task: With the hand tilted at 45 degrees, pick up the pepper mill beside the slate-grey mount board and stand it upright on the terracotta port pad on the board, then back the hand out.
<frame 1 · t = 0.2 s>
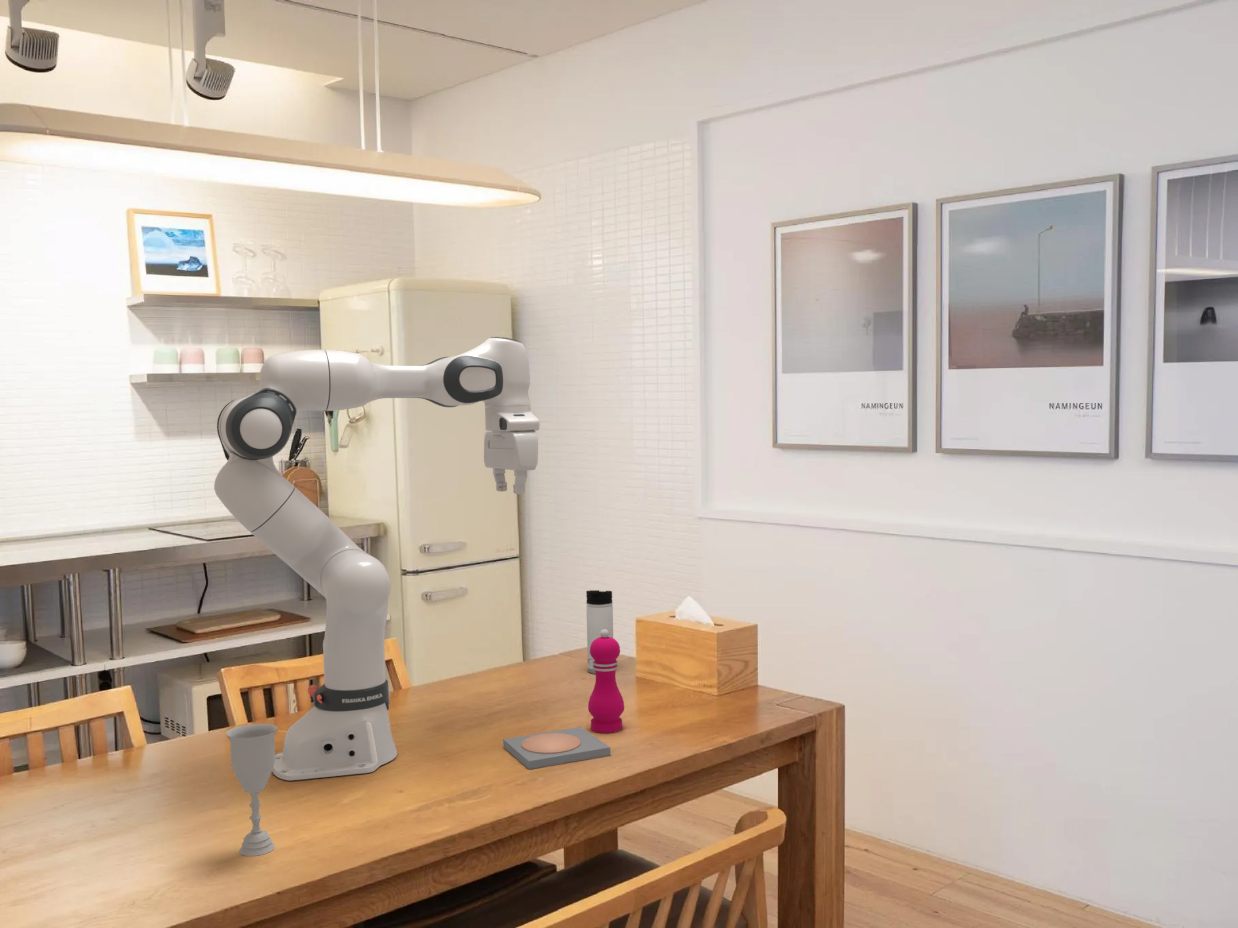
hand: (510, 492, 214), 48 cm above the table, tool pointing down, fingers open, 8 cm apart
chalice: (257, 849, 164), on the table
travel mug: (600, 672, 263), on the table
mount board: (556, 750, 206), on the table
pepper mill: (606, 729, 219), on the table
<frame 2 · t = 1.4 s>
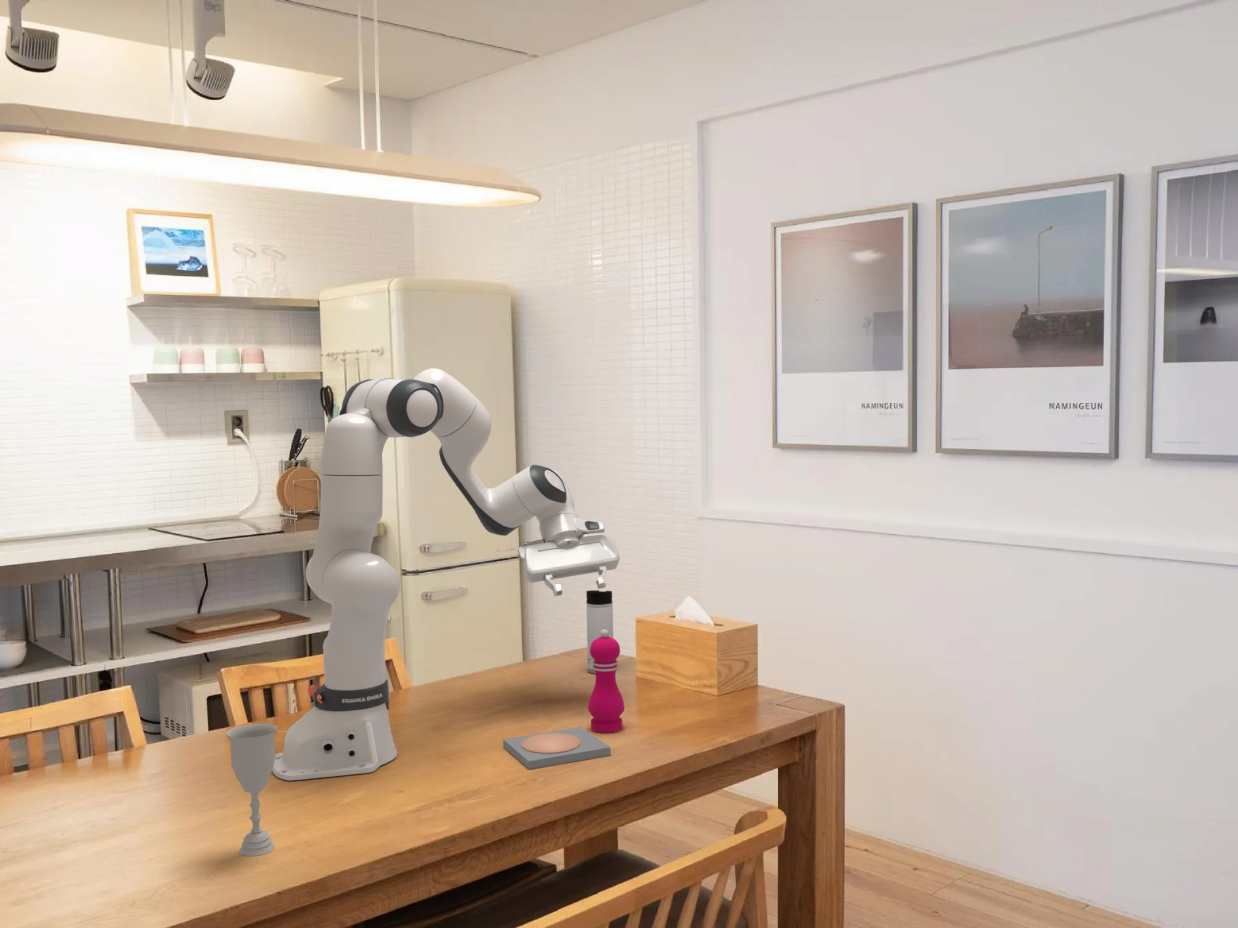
hand: (580, 590, 227), 26 cm above the table, tool tilted 45°, fingers open, 8 cm apart
nothing on the table moved.
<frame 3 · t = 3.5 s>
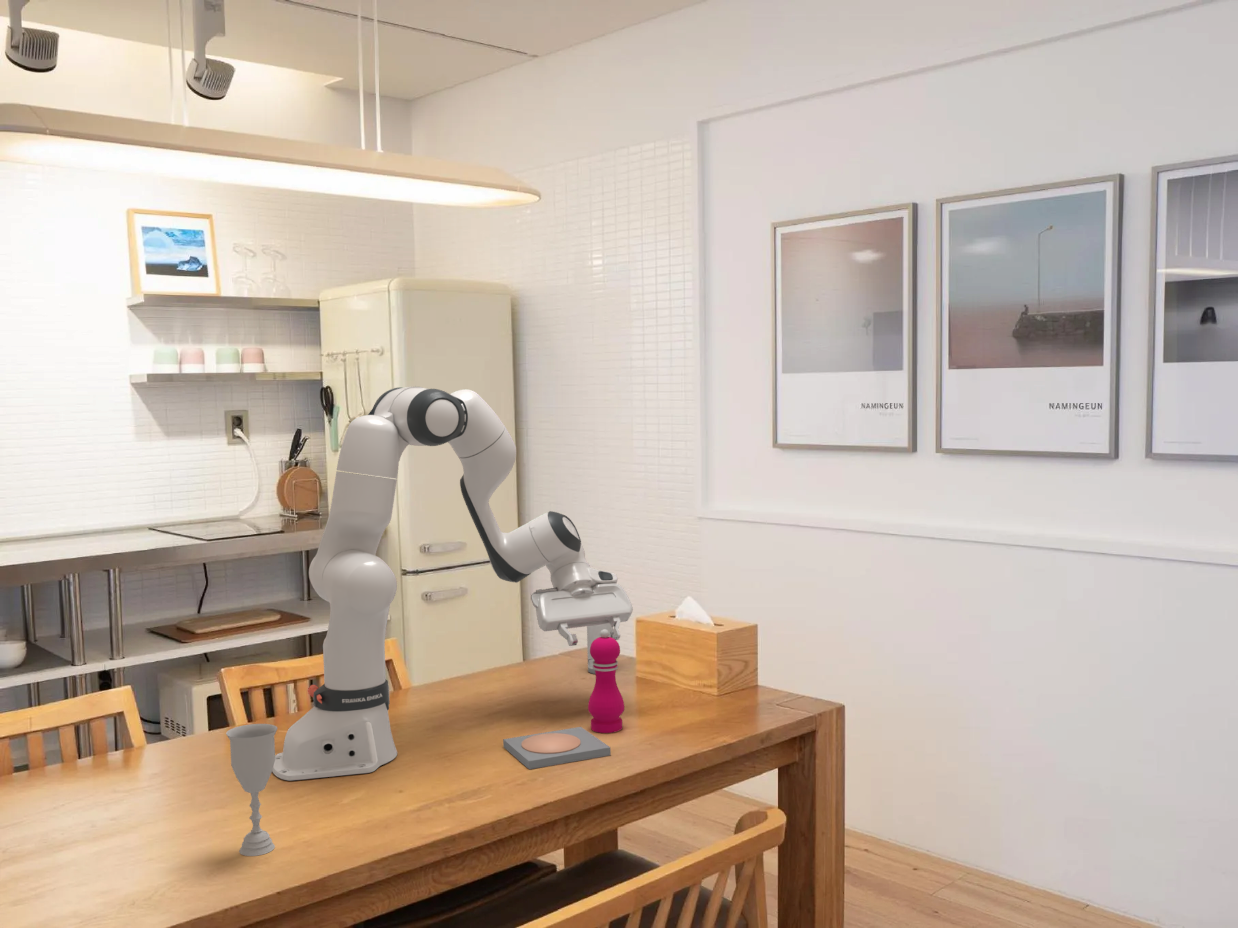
hand: (595, 641, 222), 17 cm above the table, tool tilted 45°, fingers open, 8 cm apart
nothing on the table moved.
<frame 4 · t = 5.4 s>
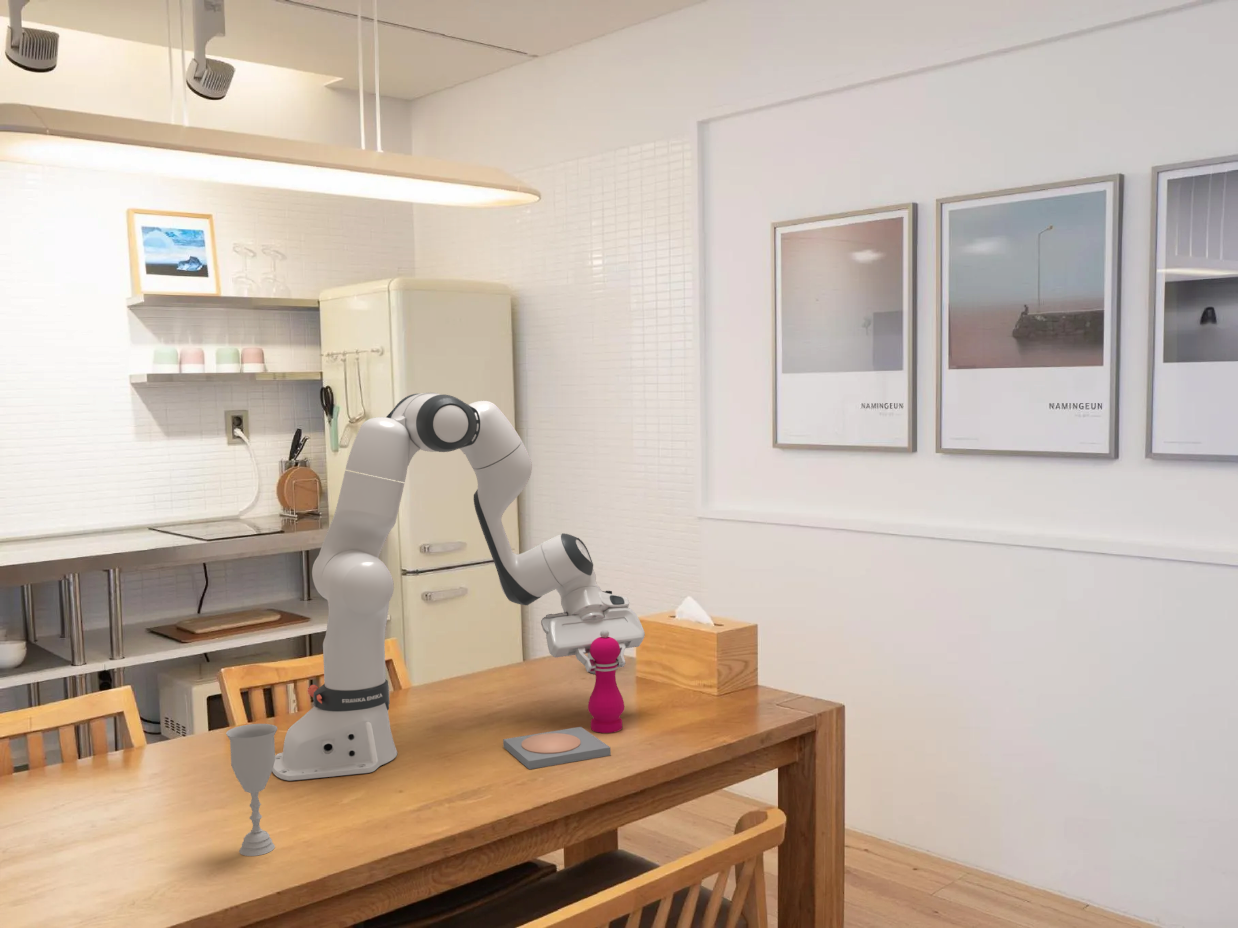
hand: (606, 667, 217), 12 cm above the table, tool tilted 45°, fingers closed on pepper mill, 5 cm apart
pepper mill: (606, 729, 219), on the table, touching gripper
everything else where it was.
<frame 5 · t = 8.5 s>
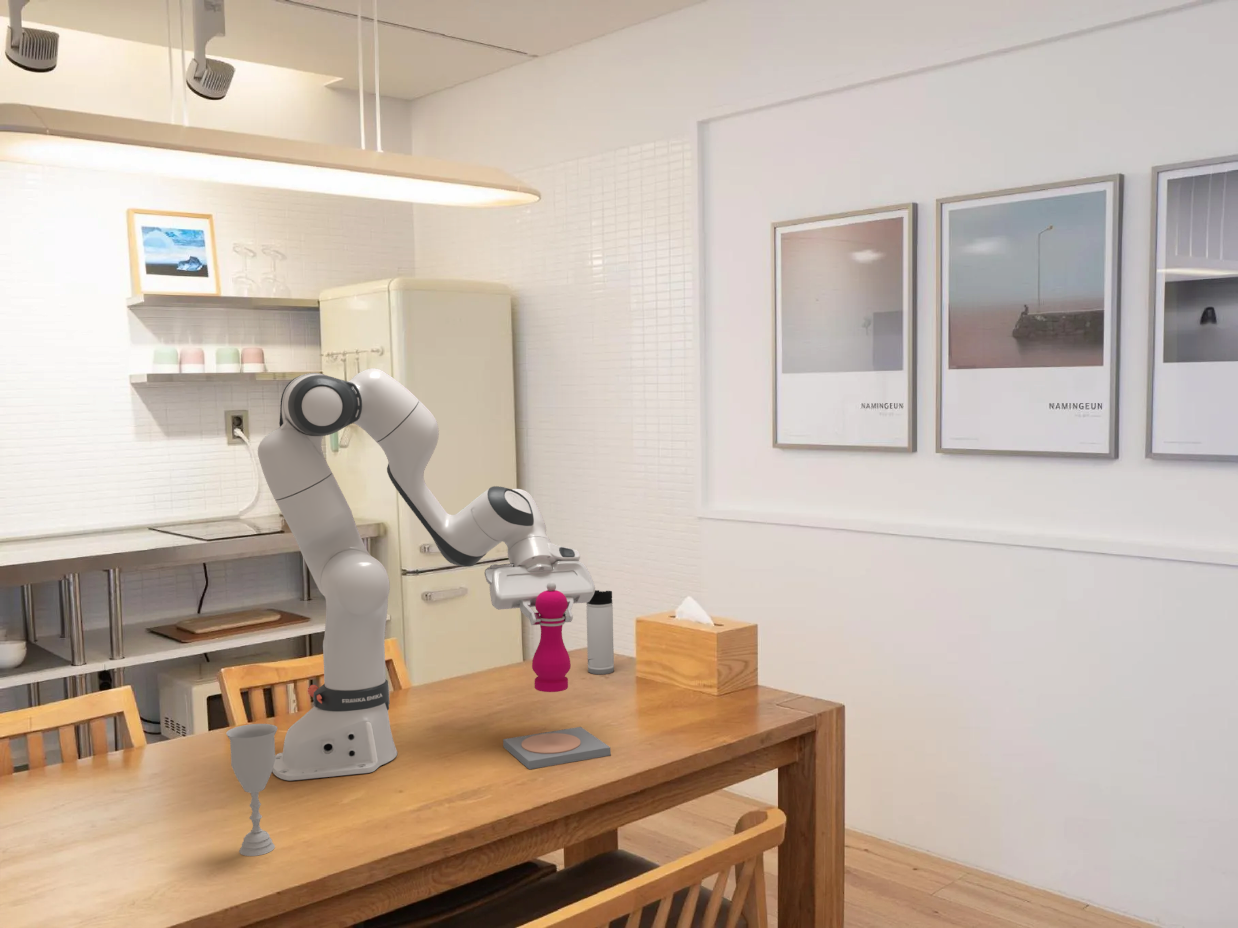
hand: (552, 621, 204), 24 cm above the table, tool tilted 45°, fingers closed on pepper mill, 5 cm apart
pepper mill: (551, 688, 205), point 12 cm above the table, touching gripper
everything else where it was.
when the fingers open (15 cm above the table, at t = 11.6 s): pepper mill stays where it is, resting on mount board.
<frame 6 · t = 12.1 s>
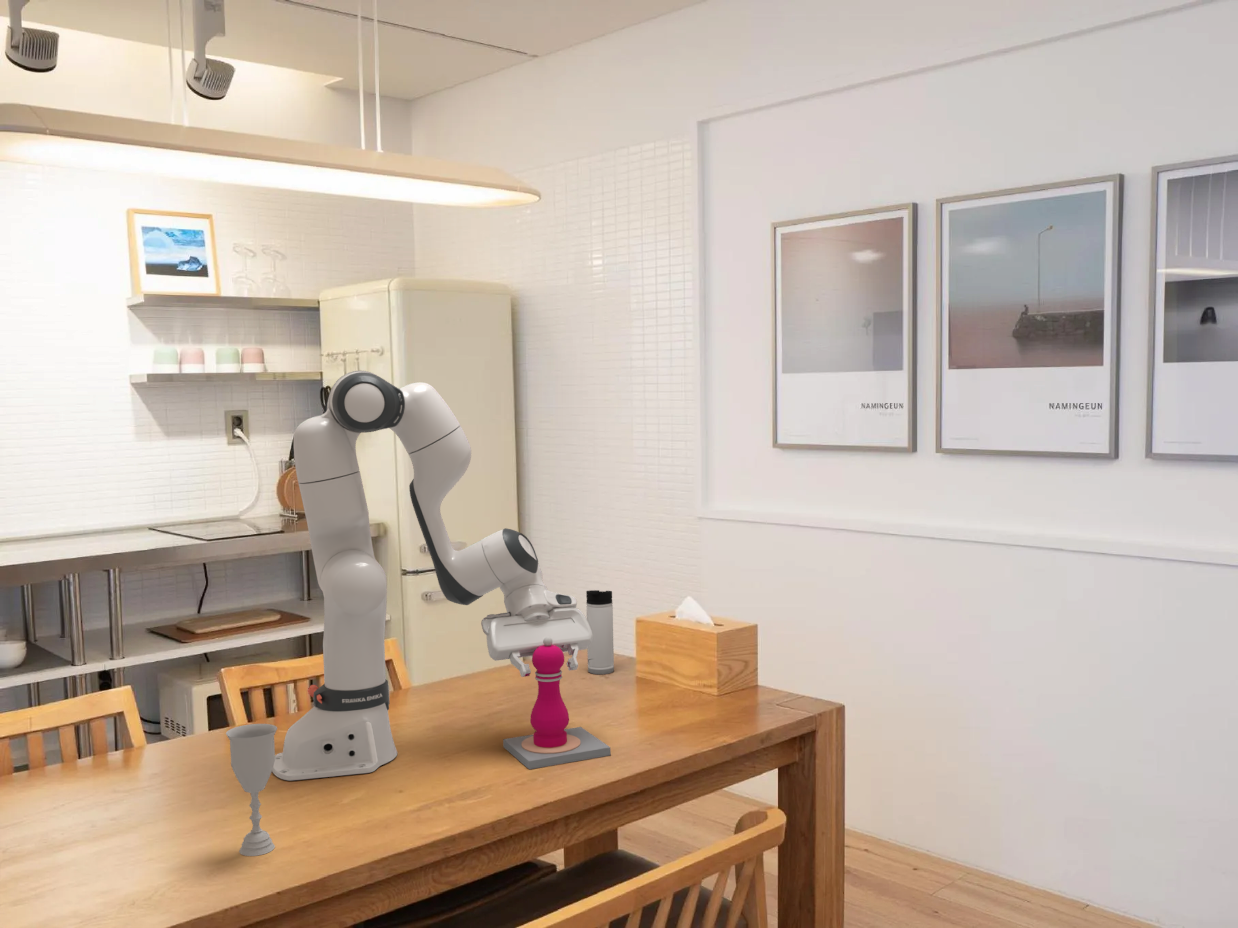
hand: (550, 671, 203), 15 cm above the table, tool tilted 45°, fingers open, 8 cm apart
pepper mill: (550, 743, 205), point 2 cm above the table, touching mount board
everything else where it was.
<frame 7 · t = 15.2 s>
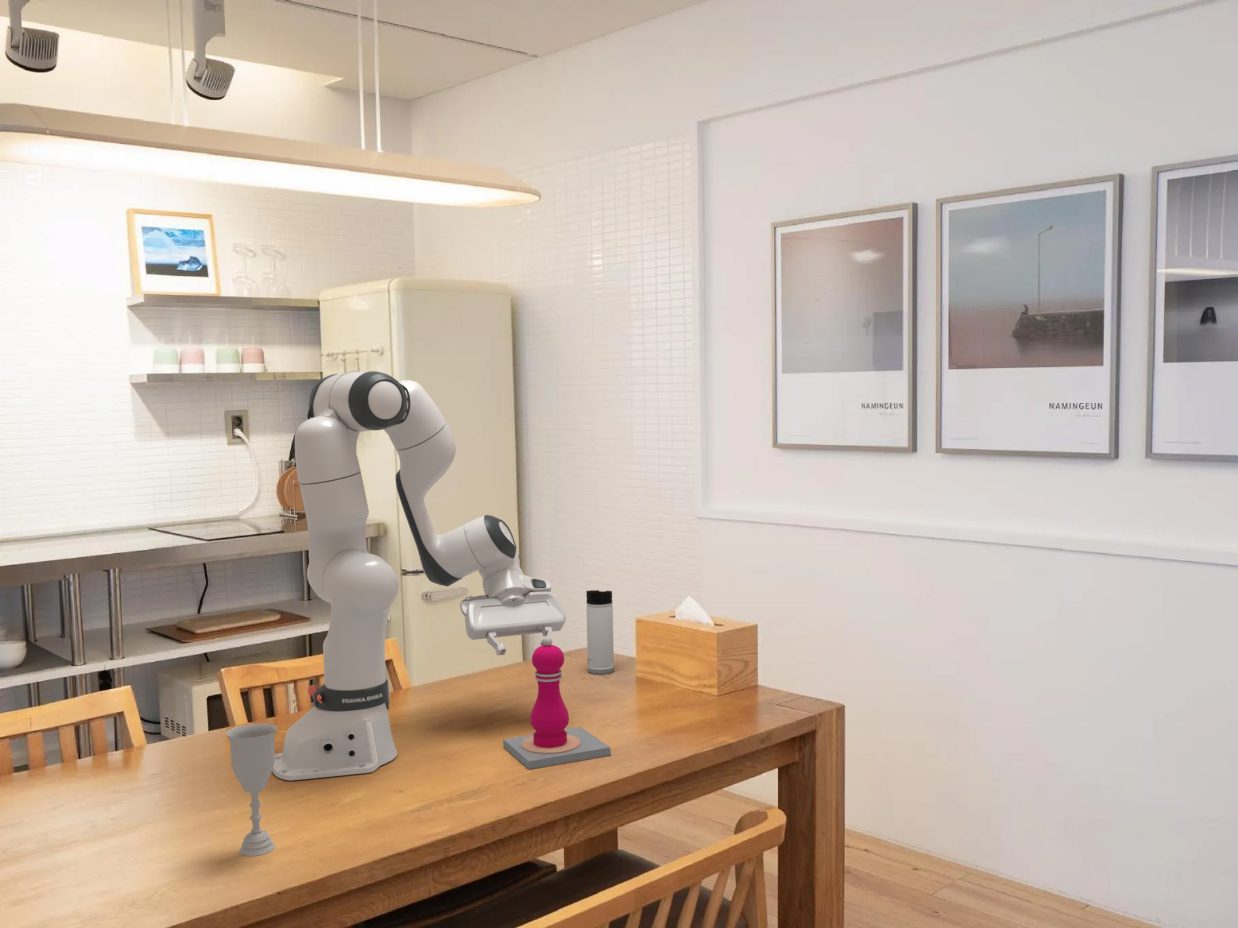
hand: (524, 650, 215), 17 cm above the table, tool tilted 45°, fingers open, 8 cm apart
nothing on the table moved.
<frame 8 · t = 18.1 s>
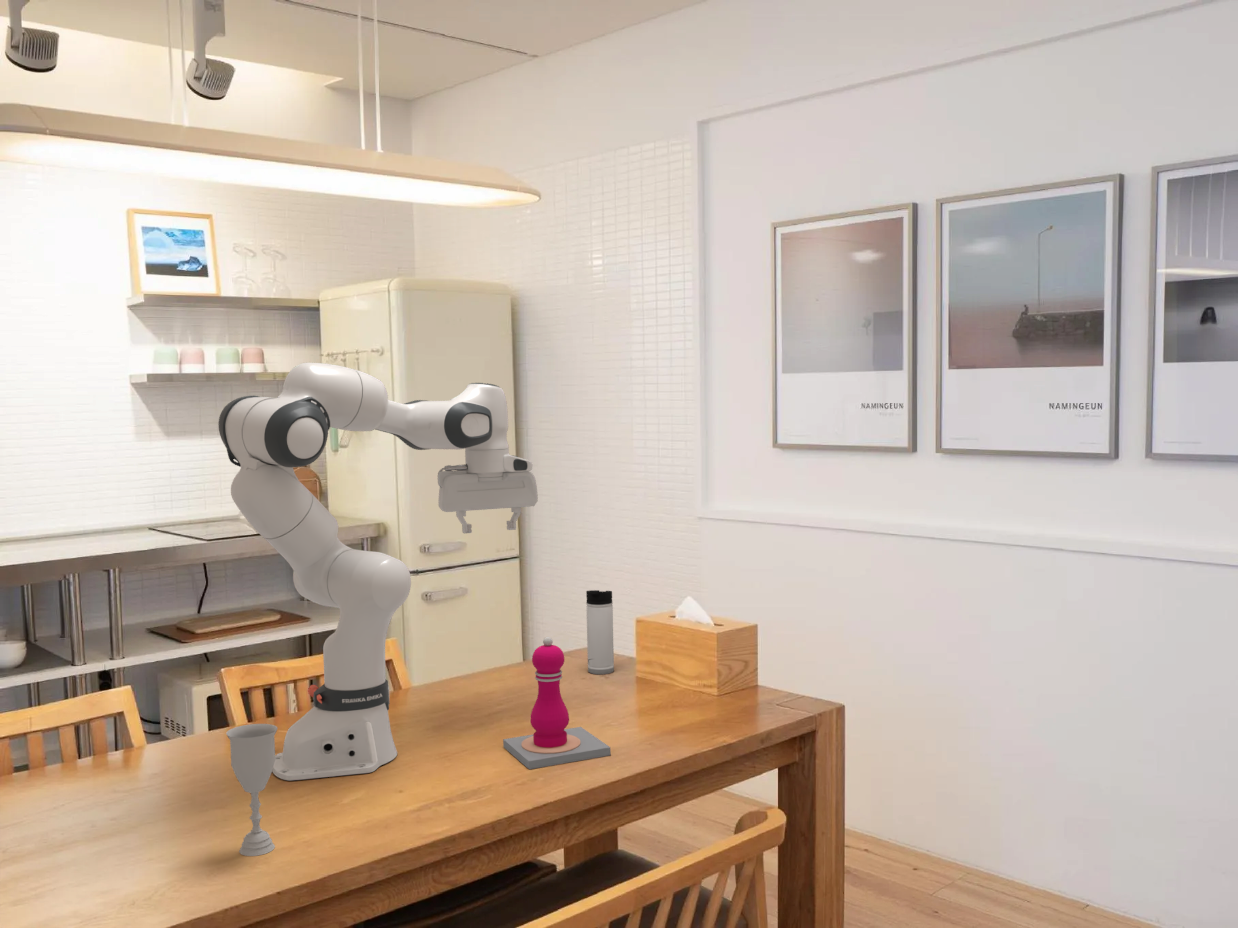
hand: (489, 531, 223), 39 cm above the table, tool pointing down, fingers open, 8 cm apart
nothing on the table moved.
at the end: pepper mill 0.1 cm from the target spot on the mount board, point 1.6 cm above the mount board's base; pepper mill tilted 0°; the gripper is holding nothing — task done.
